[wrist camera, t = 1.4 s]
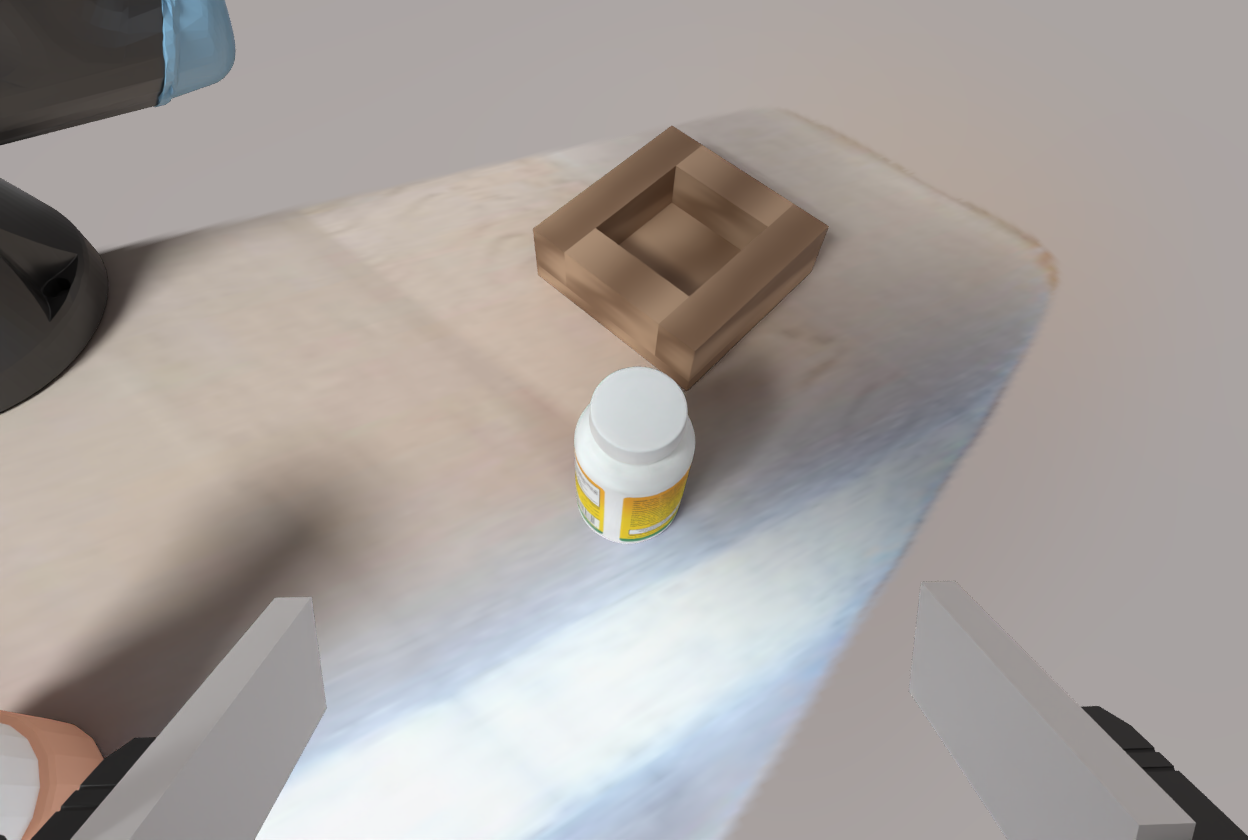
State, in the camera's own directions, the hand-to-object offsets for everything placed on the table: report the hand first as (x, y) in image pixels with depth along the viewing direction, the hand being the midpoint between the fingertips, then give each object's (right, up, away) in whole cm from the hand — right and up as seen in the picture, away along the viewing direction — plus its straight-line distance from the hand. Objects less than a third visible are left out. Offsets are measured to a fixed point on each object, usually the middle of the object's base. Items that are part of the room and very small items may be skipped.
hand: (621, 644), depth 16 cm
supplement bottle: (0, +1, +22) cm, 22 cm away
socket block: (+3, +14, +29) cm, 33 cm away
